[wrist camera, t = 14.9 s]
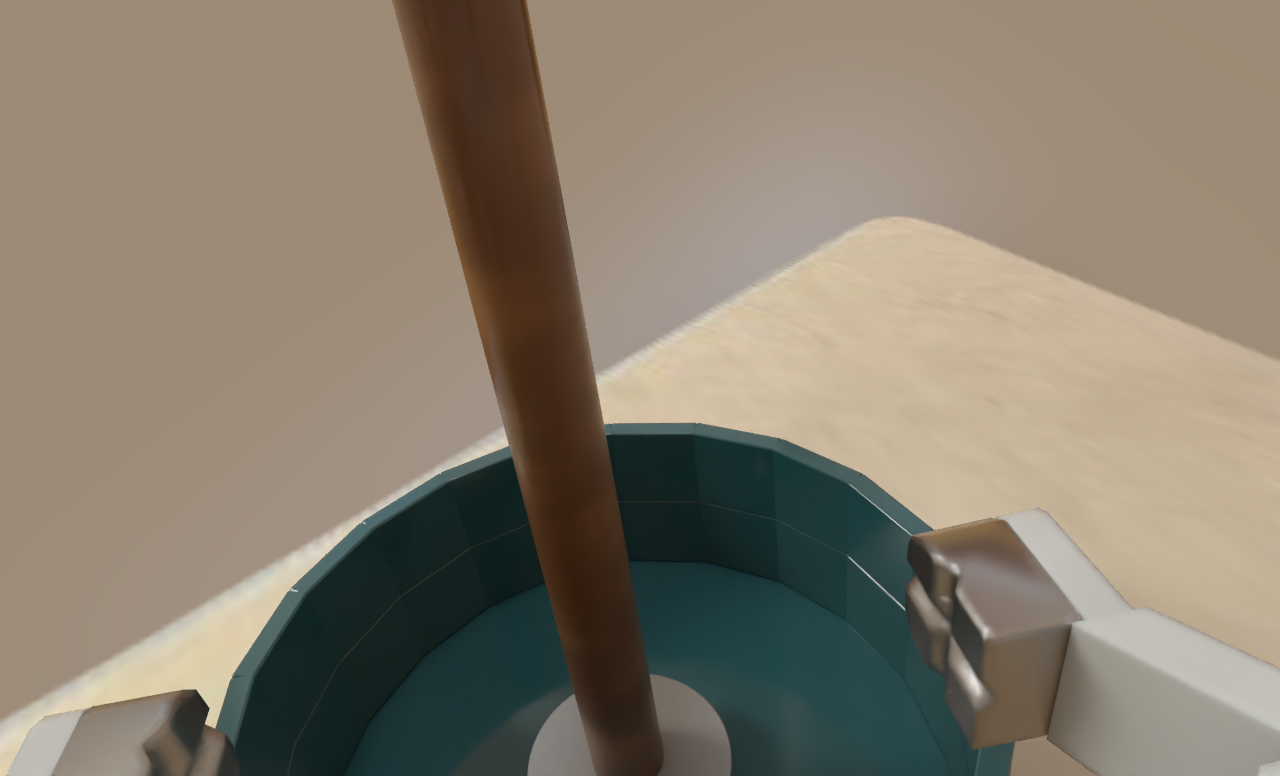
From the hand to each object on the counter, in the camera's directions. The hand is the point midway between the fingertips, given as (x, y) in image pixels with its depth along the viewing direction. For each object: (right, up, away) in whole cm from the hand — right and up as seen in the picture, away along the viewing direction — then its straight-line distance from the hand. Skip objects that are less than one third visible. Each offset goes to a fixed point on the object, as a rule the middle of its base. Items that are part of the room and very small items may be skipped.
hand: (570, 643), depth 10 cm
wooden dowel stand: (+1, -7, +12) cm, 14 cm away
